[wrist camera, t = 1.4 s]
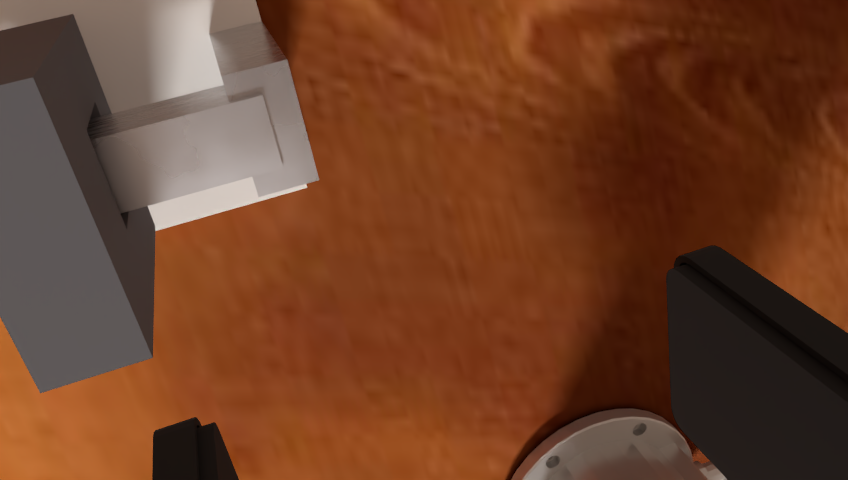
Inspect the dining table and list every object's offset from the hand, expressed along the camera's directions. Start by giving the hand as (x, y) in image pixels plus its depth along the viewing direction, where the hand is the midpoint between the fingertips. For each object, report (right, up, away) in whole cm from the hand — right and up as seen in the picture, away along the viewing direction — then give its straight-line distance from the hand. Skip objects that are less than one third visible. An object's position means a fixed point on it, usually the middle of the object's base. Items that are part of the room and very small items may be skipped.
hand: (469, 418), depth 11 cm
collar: (-13, +6, +16) cm, 22 cm away
